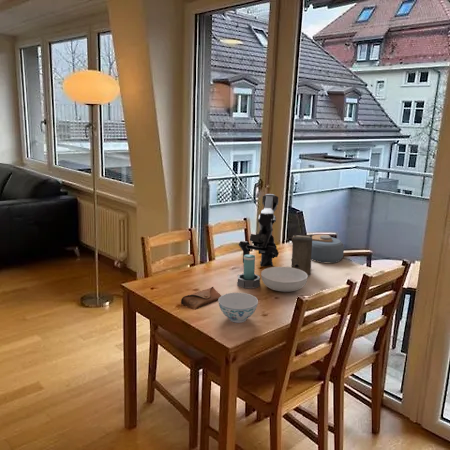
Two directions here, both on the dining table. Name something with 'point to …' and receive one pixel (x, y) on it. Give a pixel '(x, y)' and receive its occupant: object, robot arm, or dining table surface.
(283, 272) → the serving bowl
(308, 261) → the vintage camera
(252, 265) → the teal peg
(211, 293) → the sunglasses case
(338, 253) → the grey squat cylinder
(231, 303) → the chinaware
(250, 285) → the socket ring
